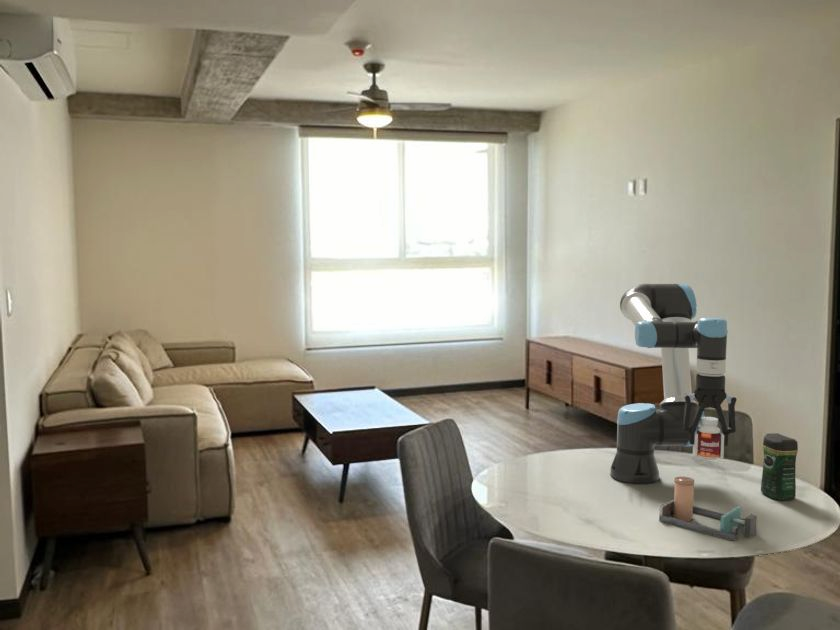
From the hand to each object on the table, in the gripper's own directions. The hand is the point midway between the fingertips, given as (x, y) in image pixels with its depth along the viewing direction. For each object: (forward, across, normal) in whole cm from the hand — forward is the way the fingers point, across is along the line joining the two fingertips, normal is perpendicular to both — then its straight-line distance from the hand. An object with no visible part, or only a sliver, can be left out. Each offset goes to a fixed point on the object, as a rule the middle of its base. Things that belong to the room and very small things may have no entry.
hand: (707, 456), depth 216 cm
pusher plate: (+17, +6, -13) cm, 22 cm away
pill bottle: (+1, 0, 0) cm, 1 cm away
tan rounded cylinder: (+17, -7, -4) cm, 18 cm away
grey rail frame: (+17, -1, -8) cm, 18 cm away
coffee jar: (+16, +24, +20) cm, 35 cm away
